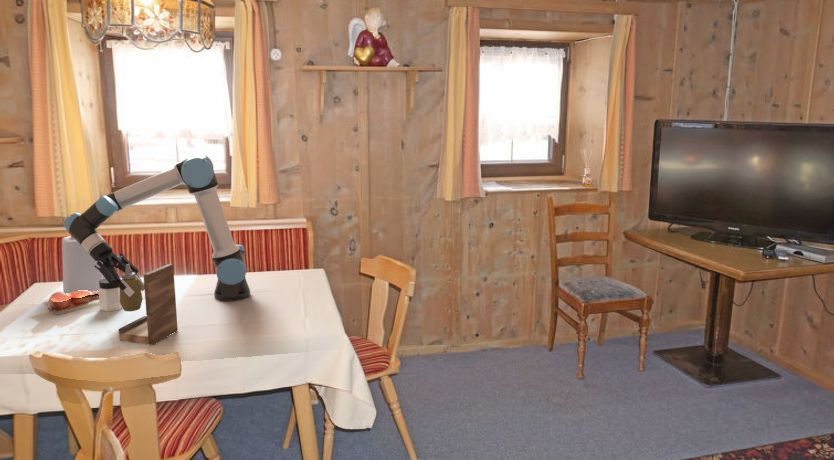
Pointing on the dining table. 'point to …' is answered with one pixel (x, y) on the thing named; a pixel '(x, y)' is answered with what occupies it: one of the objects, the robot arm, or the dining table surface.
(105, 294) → the jar
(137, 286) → the squeeze bottle
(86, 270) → the plastic bottle
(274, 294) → the dining table surface
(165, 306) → the wooden bookend
